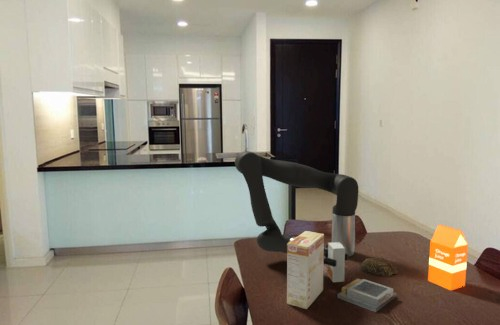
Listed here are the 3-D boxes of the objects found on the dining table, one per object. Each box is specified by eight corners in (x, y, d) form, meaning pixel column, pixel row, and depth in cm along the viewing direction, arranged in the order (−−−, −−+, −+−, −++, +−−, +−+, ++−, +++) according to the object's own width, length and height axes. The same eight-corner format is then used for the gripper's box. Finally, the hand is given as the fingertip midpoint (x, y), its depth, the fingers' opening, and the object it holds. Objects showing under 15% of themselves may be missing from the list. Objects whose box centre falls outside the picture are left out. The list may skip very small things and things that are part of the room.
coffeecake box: (304, 285, 130) (305, 230, 128) (324, 290, 126) (325, 233, 124) (285, 304, 117) (286, 243, 115) (307, 309, 114) (308, 247, 111)
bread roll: (355, 270, 143) (356, 258, 143) (370, 261, 152) (371, 249, 152) (388, 280, 134) (389, 267, 134) (402, 270, 143) (403, 257, 143)
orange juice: (450, 290, 126) (454, 232, 124) (427, 280, 134) (430, 225, 131) (465, 285, 130) (469, 229, 127) (442, 276, 137) (445, 222, 135)
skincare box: (327, 275, 134) (327, 242, 132) (339, 274, 134) (339, 241, 132) (332, 282, 128) (333, 248, 126) (344, 282, 128) (345, 248, 126)
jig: (359, 284, 131) (359, 275, 131) (396, 296, 122) (396, 287, 121) (337, 297, 121) (337, 288, 121) (375, 312, 112) (376, 302, 112)
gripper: (290, 243, 134) (330, 255, 123) (314, 234, 145) (353, 244, 133) (290, 263, 135) (330, 277, 124) (313, 253, 145) (352, 265, 134)
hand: (341, 260), depth 128 cm, fingers closed on skincare box, 7 cm apart
